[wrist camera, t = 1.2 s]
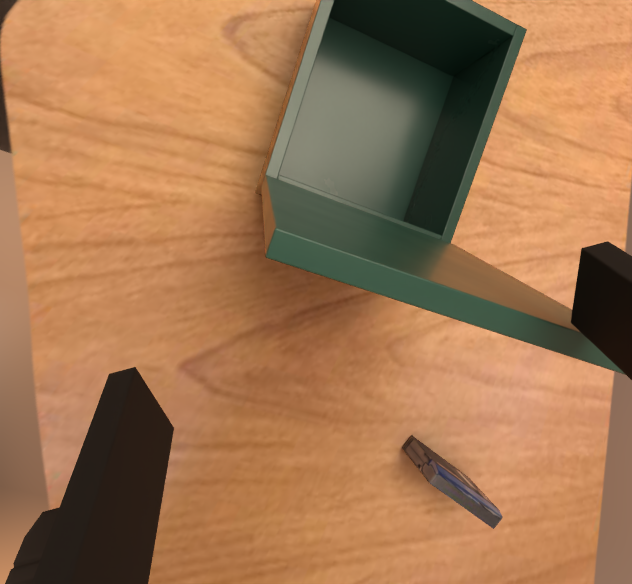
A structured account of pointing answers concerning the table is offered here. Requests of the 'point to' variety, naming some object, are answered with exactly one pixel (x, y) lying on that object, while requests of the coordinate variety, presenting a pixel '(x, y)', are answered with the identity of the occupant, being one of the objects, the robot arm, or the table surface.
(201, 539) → the table surface
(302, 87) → the bin
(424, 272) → the bin lid
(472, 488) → the mini dv tape
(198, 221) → the table surface
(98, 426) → the robot arm
